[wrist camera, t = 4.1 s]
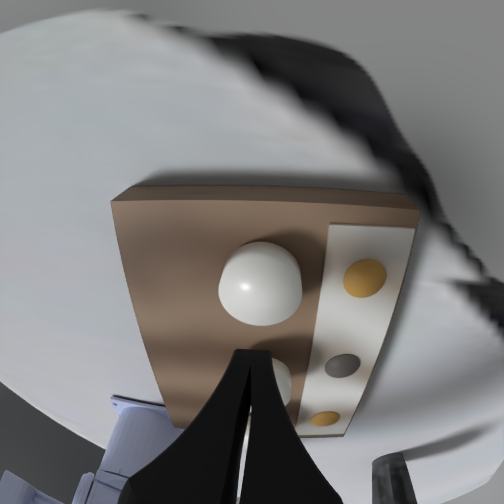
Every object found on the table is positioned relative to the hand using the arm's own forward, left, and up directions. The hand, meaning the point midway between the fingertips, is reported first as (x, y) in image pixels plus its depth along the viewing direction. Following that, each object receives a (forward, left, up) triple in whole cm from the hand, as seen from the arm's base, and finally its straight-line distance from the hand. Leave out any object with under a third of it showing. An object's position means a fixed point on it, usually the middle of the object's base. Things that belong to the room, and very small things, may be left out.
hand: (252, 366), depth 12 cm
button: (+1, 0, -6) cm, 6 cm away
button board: (-6, 0, -8) cm, 10 cm away
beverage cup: (-31, -18, -8) cm, 37 cm away
